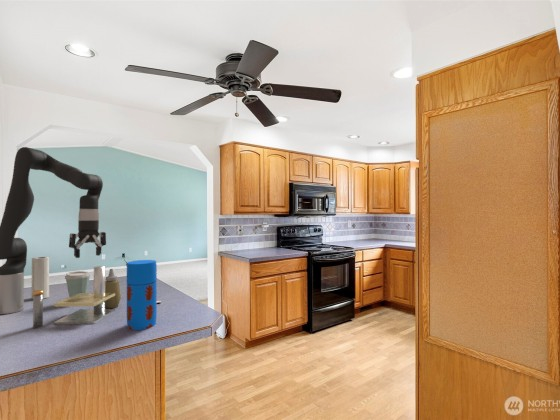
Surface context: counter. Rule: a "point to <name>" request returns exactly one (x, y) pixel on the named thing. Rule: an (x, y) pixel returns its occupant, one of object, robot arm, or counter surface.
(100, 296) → the tan and silver stand
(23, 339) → the counter surface
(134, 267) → the thermos
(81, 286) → the disposable coffee cup
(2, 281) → the robot arm
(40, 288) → the paper towel roll
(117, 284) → the squeeze bottle
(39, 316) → the copper-capped metal rod
